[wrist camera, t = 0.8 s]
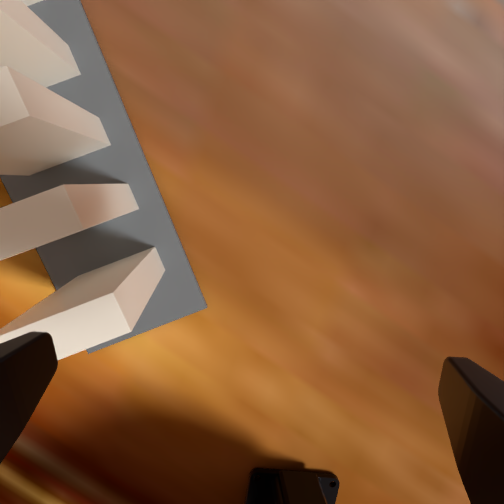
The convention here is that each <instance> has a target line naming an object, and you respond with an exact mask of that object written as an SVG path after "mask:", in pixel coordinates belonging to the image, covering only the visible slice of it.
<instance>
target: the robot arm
mask: <svg viewBox="0 0 504 504" xmlns="http://www.w3.org/2000/svg"><path fill="white" fill-rule="evenodd" d="M57 366H58V359H57V355H56V351H55V347H54V343H53V339H52V336H51V335H50V334H49V333H48V332H36V331H33V332H29V333H26V334H24V335H21V336H18V337H16V338H13V339H11V340H8V341H6V342H3V343H0V464H1V462H2V461H3V459H4V458H5V456H6V455H7V453H8V452H9V450H10V449H11V447H12V446H13V444H14V443H15V441H16V440H17V439H18V437H19V435H20V434H21V432H22V431H23V429H24V428H25V426H26V424H27V422H28V421H29V419H30V417H31V415H32V414H33V412H34V410H35V408H36V406H37V405H38V403H39V401H40V399H41V397H42V396H43V394H44V392H45V390H46V388H47V387H48V385H49V383H50V381H51V379H52V378H53V376H54V374H55V372H56V370H57ZM438 395H439V401H440V405H441V408H442V412H443V416H444V420H445V423H446V427H447V431H448V435H449V438H450V442H451V446H452V450H453V453H454V457H455V461H456V464H457V468H458V471H459V473H460V476H461V479H462V482H463V485H464V487H465V490H466V492H467V495H468V497H469V500H470V503H471V504H504V381H502V380H501V379H499V378H498V377H496V376H495V375H493V374H491V373H490V372H488V371H487V370H485V369H484V368H482V367H481V366H479V365H478V364H476V363H475V362H473V361H471V360H470V359H468V358H464V357H447V358H446V359H445V360H444V363H443V368H442V373H441V378H440V383H439V388H438ZM257 475H259V477H257V478H256V477H255V476H257ZM332 481H334V482H333V483H330V482H332ZM338 489H339V480H338V478H337V476H336V475H334V474H326V473H313V472H300V471H288V470H275V469H263V468H255V469H253V470H252V471H251V472H250V476H249V481H248V486H247V492H246V497H245V502H244V504H335V502H336V497H337V493H338Z"/></svg>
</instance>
